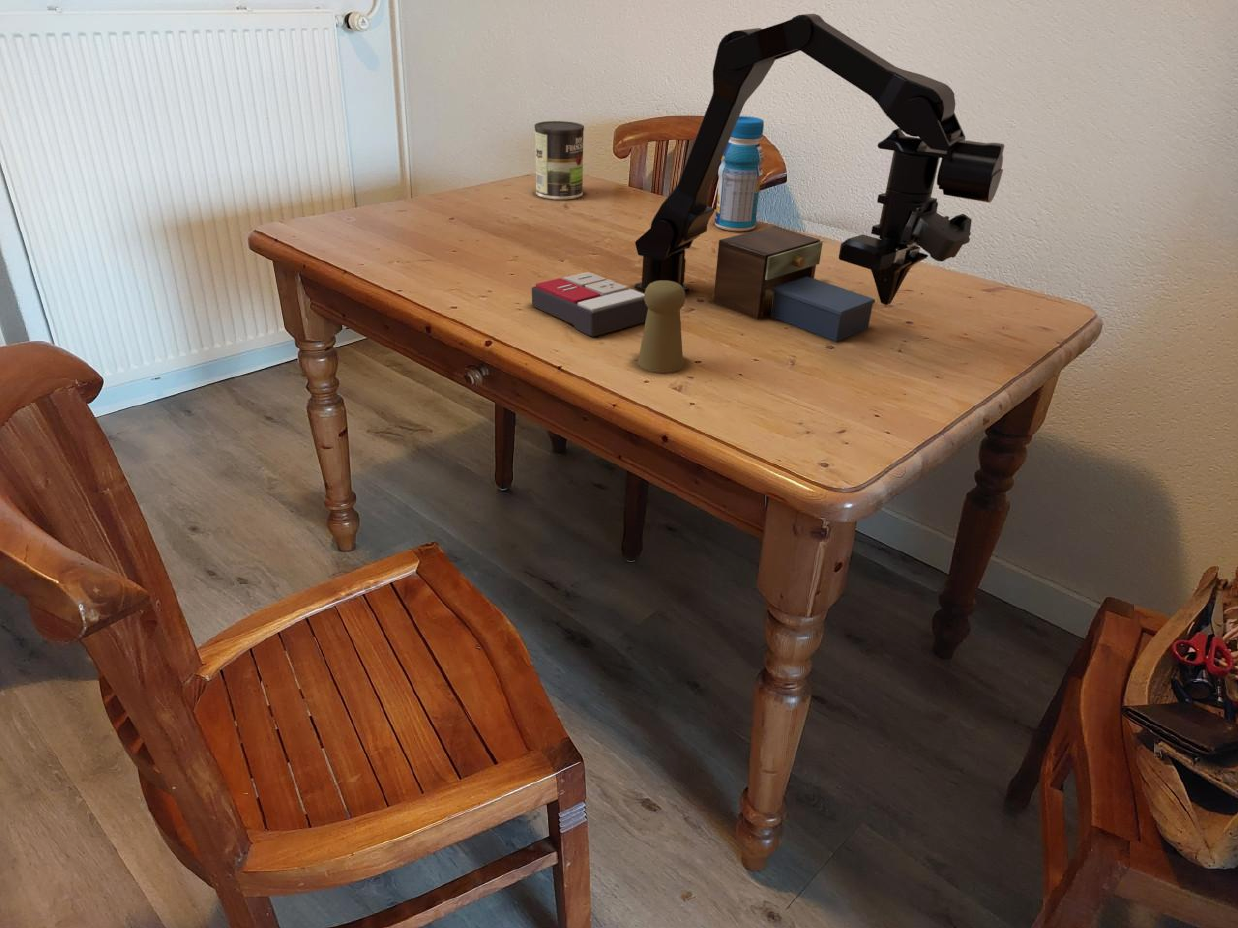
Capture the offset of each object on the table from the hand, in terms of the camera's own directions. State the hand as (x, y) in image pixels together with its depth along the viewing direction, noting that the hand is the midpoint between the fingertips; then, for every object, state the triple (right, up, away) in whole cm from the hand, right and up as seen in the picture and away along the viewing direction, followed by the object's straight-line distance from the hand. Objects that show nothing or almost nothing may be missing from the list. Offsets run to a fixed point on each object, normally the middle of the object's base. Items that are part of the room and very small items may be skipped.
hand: (885, 303), depth 120 cm
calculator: (-41, 0, +9) cm, 42 cm away
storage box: (-7, -1, +10) cm, 12 cm away
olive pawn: (-31, -9, -5) cm, 33 cm away
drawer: (-13, +8, +12) cm, 20 cm away
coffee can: (-50, +36, +68) cm, 92 cm away
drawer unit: (-14, +3, +16) cm, 22 cm away
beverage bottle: (-14, +25, +52) cm, 59 cm away
